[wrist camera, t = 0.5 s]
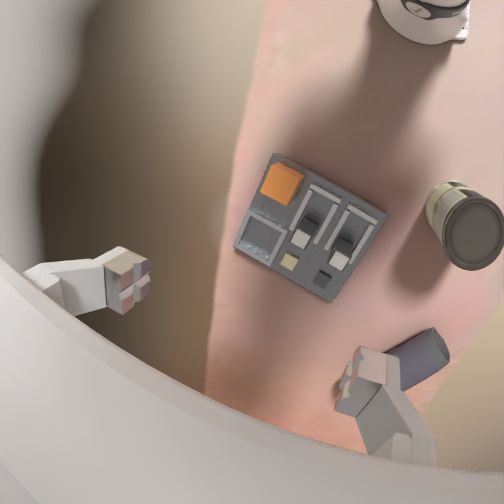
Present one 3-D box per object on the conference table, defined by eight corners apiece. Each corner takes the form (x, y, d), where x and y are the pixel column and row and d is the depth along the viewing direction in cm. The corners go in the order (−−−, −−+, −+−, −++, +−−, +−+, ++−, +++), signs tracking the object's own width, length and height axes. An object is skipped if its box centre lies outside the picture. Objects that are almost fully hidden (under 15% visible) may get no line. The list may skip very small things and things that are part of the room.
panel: (276, 152, 51) (270, 154, 49) (386, 212, 48) (388, 217, 45) (237, 243, 61) (230, 249, 59) (332, 297, 58) (330, 306, 55)
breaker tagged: (303, 216, 52) (296, 226, 47) (318, 225, 51) (312, 236, 46) (296, 231, 53) (288, 242, 48) (311, 239, 53) (304, 251, 48)
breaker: (338, 236, 51) (335, 248, 46) (353, 245, 50) (351, 258, 45) (330, 250, 52) (326, 263, 47) (345, 258, 52) (342, 273, 47)
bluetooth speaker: (367, 388, 64) (363, 420, 55) (344, 367, 64) (337, 398, 55) (447, 341, 52) (454, 373, 43) (427, 314, 52) (433, 346, 43)
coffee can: (470, 174, 40) (502, 189, 28) (479, 230, 42) (508, 261, 30) (418, 187, 44) (436, 206, 32) (430, 242, 47) (447, 278, 35)
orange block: (278, 162, 50) (271, 164, 47) (304, 175, 49) (299, 179, 46) (267, 187, 52) (259, 192, 49) (292, 200, 52) (286, 206, 48)
